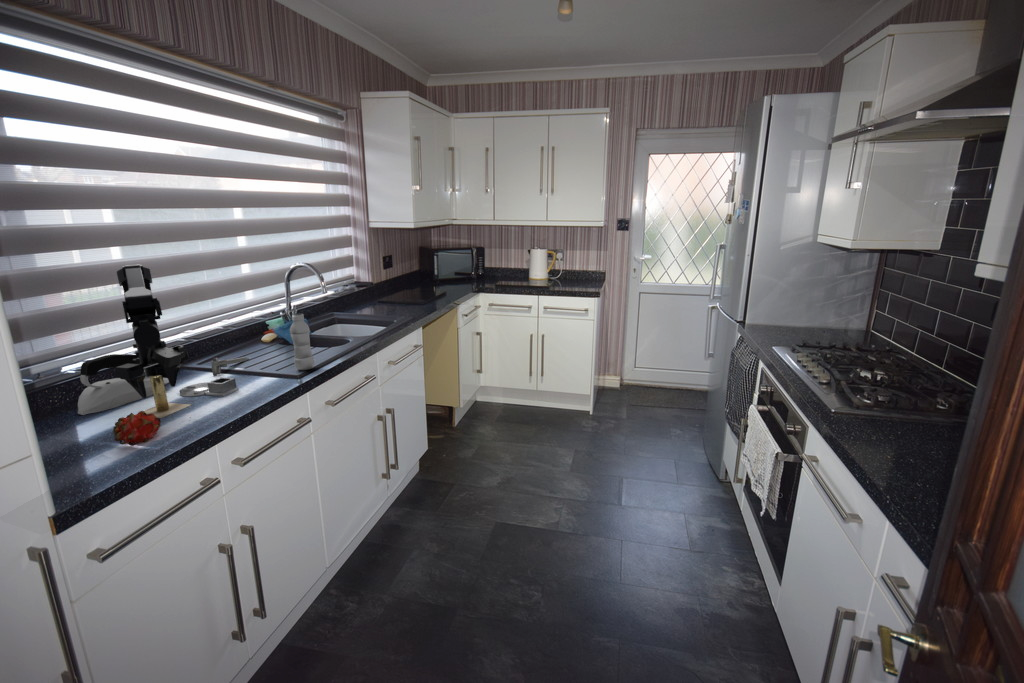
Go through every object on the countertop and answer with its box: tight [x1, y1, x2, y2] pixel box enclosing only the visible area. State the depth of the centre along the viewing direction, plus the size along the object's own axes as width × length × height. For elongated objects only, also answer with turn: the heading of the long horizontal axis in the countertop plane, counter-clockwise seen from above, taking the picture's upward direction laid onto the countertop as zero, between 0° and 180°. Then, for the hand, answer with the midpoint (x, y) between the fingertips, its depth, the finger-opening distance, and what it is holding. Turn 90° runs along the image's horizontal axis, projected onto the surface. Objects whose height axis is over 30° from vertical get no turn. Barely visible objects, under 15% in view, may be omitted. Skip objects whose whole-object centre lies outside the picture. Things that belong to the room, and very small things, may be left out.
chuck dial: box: [179, 376, 239, 398], centre depth 164 cm, size 18×11×4 cm, turn 75°
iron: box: [77, 353, 170, 416], centre depth 157 cm, size 11×24×15 cm, turn 157°
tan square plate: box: [134, 402, 191, 419], centre depth 149 cm, size 10×10×1 cm
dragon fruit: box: [112, 410, 162, 447], centre depth 129 cm, size 8×8×12 cm
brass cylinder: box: [150, 375, 169, 412], centre depth 148 cm, size 3×3×10 cm
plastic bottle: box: [289, 313, 315, 371], centre depth 183 cm, size 6×7×20 cm
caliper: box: [211, 356, 250, 376], centre depth 190 cm, size 20×1×6 cm, turn 176°
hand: (159, 392), depth 148 cm, fingers open, 9 cm apart
